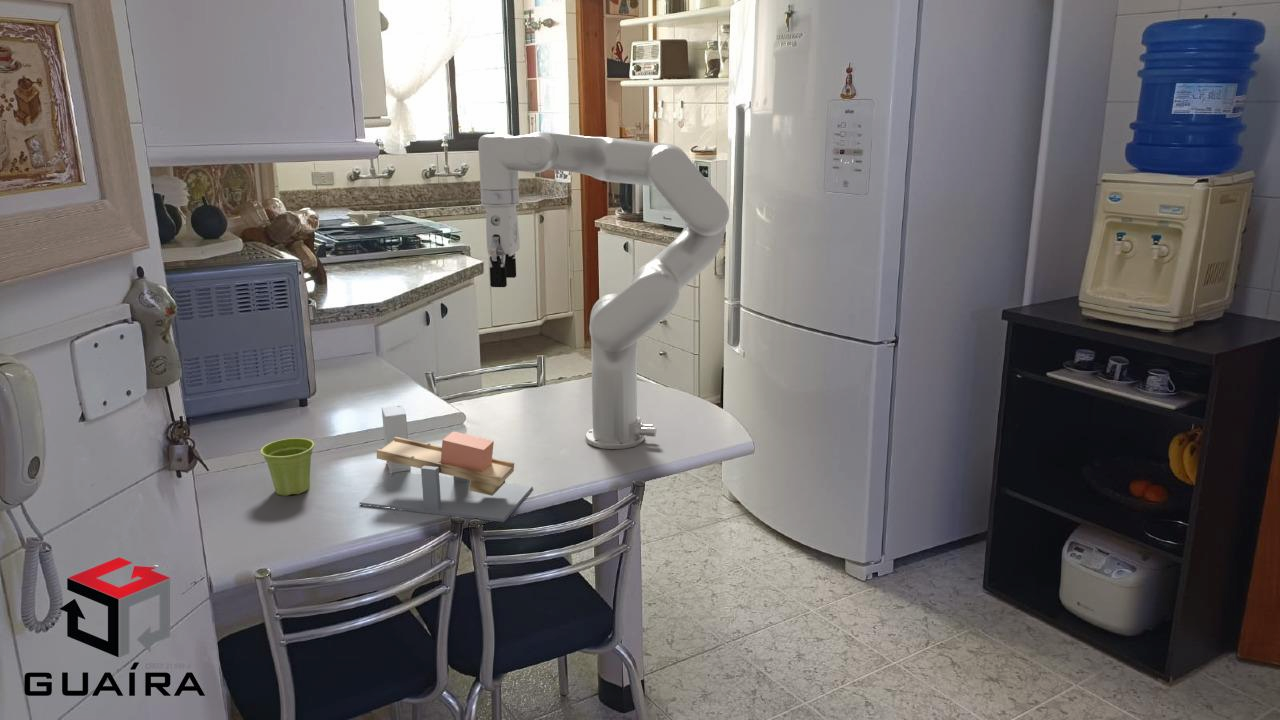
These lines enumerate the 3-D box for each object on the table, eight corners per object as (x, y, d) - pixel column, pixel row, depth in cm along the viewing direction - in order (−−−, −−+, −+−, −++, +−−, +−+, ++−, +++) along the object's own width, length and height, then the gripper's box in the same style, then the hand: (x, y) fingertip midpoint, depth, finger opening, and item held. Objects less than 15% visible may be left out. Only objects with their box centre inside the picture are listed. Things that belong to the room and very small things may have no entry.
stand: (532, 489, 178) (531, 447, 175) (503, 522, 164) (501, 477, 162) (398, 474, 184) (395, 434, 182) (359, 505, 171) (355, 462, 169)
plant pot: (292, 503, 172) (287, 459, 169) (254, 494, 176) (249, 451, 173) (329, 484, 180) (325, 442, 177) (292, 476, 184) (287, 434, 181)
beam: (516, 479, 176) (517, 458, 174) (494, 502, 166) (496, 480, 165) (399, 453, 180) (400, 433, 179) (371, 474, 171) (372, 452, 170)
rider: (491, 463, 173) (493, 441, 171) (481, 472, 168) (483, 449, 167) (451, 453, 174) (453, 431, 173) (440, 462, 170) (442, 439, 169)
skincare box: (385, 462, 190) (381, 406, 187) (407, 459, 192) (403, 404, 188) (389, 473, 185) (384, 416, 182) (411, 470, 186) (406, 413, 183)
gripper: (509, 203, 179) (513, 291, 184) (526, 193, 196) (529, 274, 201) (471, 202, 180) (475, 290, 184) (491, 192, 196) (494, 273, 201)
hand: (503, 281), depth 193 cm, fingers open, 9 cm apart
